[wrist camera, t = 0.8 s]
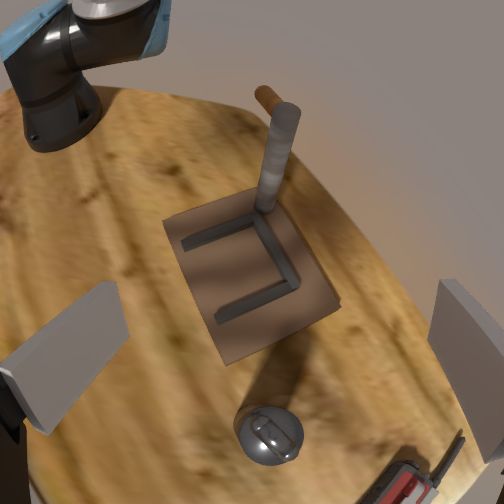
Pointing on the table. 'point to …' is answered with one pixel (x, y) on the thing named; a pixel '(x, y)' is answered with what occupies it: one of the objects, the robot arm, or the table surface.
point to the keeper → (252, 255)
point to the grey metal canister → (268, 434)
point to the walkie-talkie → (409, 483)
